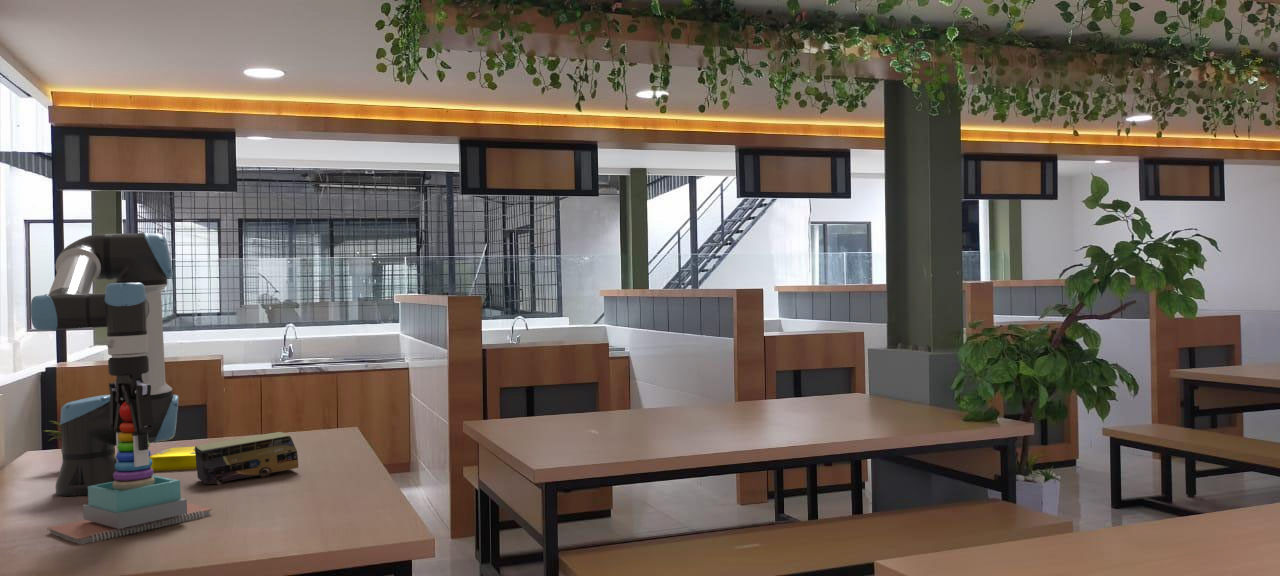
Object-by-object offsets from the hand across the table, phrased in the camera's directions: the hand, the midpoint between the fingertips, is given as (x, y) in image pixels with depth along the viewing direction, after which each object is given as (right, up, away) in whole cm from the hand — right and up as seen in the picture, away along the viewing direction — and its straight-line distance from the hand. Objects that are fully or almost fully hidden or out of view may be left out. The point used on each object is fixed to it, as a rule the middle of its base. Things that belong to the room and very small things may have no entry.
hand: (133, 463), depth 201 cm
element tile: (-22, -14, +70) cm, 75 cm away
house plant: (-54, -15, +72) cm, 91 cm away
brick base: (+1, -11, 0) cm, 11 cm away
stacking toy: (0, -5, 0) cm, 5 cm away
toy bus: (+4, -13, +48) cm, 50 cm away
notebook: (-1, -14, +2) cm, 14 cm away
